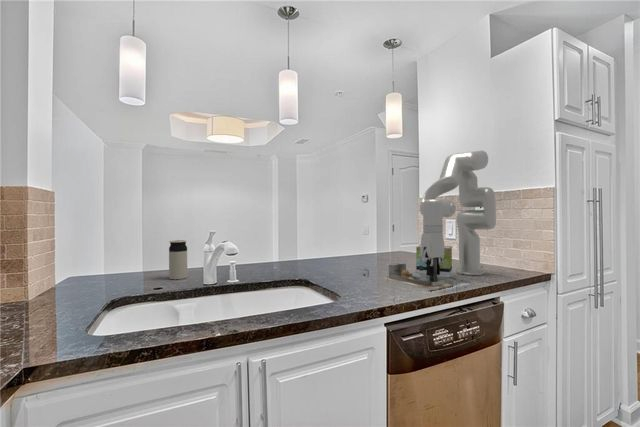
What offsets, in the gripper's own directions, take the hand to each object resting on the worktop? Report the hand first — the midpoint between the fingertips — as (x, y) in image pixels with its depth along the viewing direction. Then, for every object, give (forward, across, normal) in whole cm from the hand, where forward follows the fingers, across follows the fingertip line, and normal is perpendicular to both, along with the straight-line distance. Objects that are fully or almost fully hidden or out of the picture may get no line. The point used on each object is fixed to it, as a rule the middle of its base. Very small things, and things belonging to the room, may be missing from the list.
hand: (433, 274), depth 130 cm
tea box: (+6, -19, -14) cm, 24 cm away
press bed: (+5, 0, -9) cm, 10 cm away
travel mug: (+5, +81, -83) cm, 117 cm away
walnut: (+4, 0, -15) cm, 15 cm away
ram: (+4, 0, -3) cm, 5 cm away
